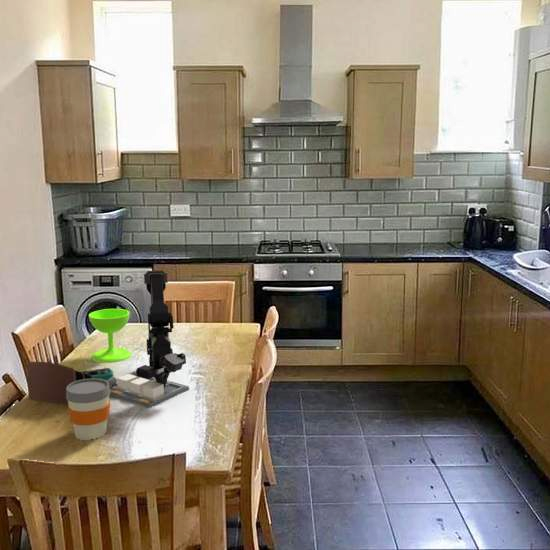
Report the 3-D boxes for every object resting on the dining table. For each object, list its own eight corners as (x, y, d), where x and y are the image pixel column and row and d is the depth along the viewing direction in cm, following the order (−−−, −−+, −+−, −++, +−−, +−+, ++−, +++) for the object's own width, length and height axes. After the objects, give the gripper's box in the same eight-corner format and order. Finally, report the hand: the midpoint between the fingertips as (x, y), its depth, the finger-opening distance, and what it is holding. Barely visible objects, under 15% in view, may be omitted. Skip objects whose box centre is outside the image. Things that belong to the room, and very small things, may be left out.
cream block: (141, 388, 214) (140, 377, 213) (150, 391, 212) (150, 380, 211) (130, 392, 210) (129, 381, 209) (139, 395, 208) (139, 384, 207)
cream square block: (154, 392, 210) (153, 381, 210) (164, 395, 208) (163, 384, 207) (143, 397, 206) (143, 386, 206) (153, 400, 204) (152, 389, 203)
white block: (128, 384, 218) (127, 373, 217) (137, 387, 215) (137, 376, 214) (117, 388, 214) (117, 378, 213) (126, 391, 211) (126, 380, 210)
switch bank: (148, 378, 228) (148, 373, 227) (189, 389, 216) (188, 384, 216) (108, 394, 212) (108, 389, 212) (149, 407, 201) (149, 402, 201)
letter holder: (76, 408, 202) (73, 367, 199) (28, 399, 209) (24, 360, 206) (95, 396, 211) (92, 357, 208) (48, 389, 218) (45, 351, 215)
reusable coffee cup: (88, 446, 175) (85, 397, 172) (59, 436, 181) (56, 388, 178) (121, 430, 185) (118, 383, 182) (92, 420, 192) (89, 375, 189)
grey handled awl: (116, 384, 222) (109, 382, 223) (117, 377, 222) (110, 375, 222) (96, 399, 209) (89, 397, 209) (97, 392, 208) (90, 390, 209)
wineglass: (139, 355, 253) (137, 313, 249) (106, 365, 241) (103, 321, 237) (116, 347, 263) (114, 306, 260) (83, 356, 251) (80, 314, 248)
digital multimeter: (114, 380, 227) (114, 372, 226) (72, 386, 221) (72, 378, 220) (111, 373, 233) (111, 366, 233) (70, 379, 228) (70, 371, 227)
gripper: (157, 358, 195) (160, 404, 198) (197, 342, 210) (198, 385, 213) (133, 351, 201) (136, 396, 204) (173, 337, 216) (175, 379, 219)
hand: (162, 389), depth 210 cm, fingers closed
